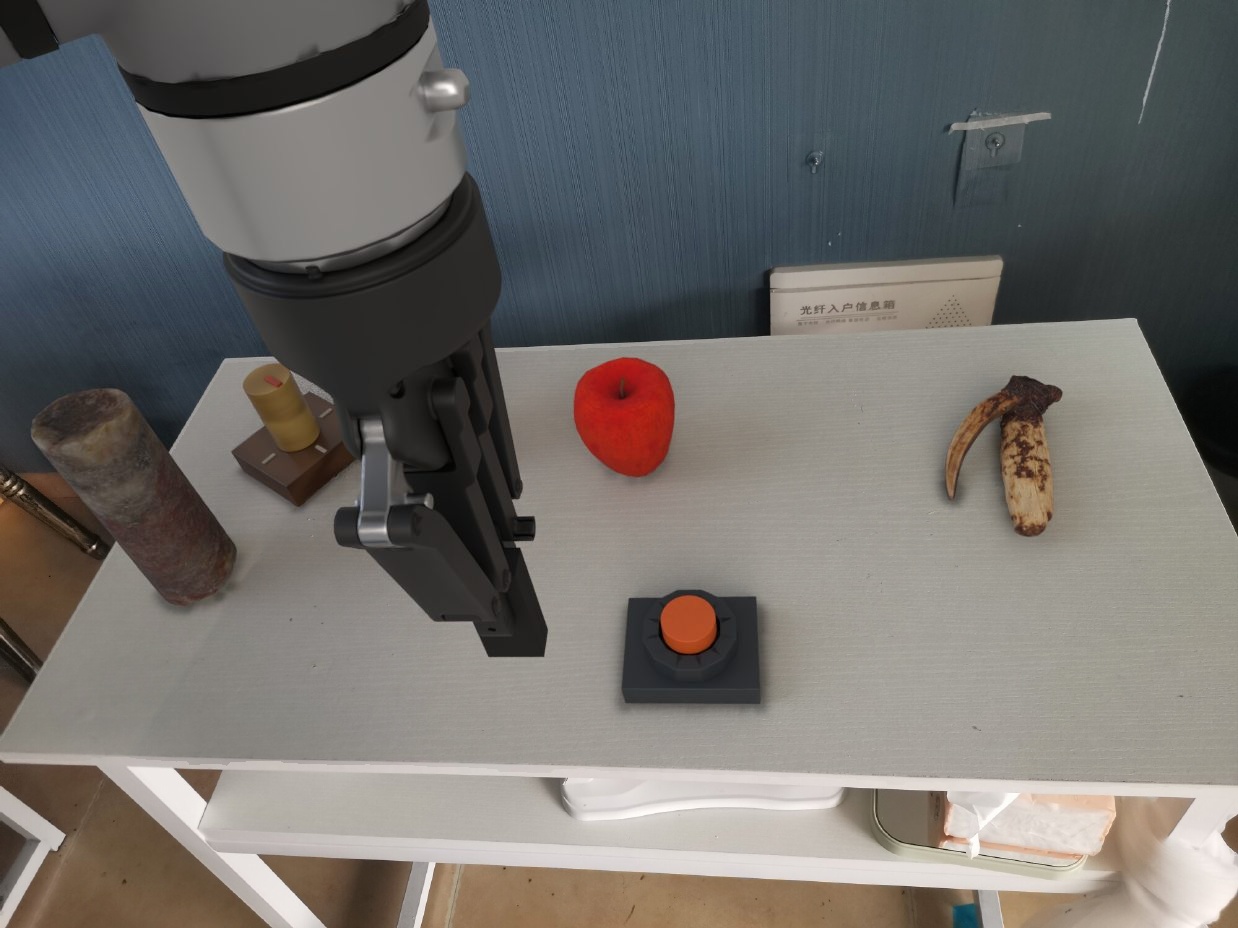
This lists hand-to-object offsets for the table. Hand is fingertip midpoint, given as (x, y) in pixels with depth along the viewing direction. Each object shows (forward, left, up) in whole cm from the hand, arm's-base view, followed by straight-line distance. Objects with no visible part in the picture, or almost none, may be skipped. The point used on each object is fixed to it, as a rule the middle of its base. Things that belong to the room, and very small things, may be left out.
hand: (518, 643), depth 42 cm
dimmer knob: (+13, +47, -21) cm, 53 cm away
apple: (+29, +18, -25) cm, 42 cm away
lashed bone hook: (+45, -10, -25) cm, 52 cm away
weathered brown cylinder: (-2, +44, -25) cm, 50 cm away
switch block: (+15, +2, -24) cm, 29 cm away
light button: (+15, +2, -21) cm, 26 cm away
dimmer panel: (+13, +47, -24) cm, 55 cm away
